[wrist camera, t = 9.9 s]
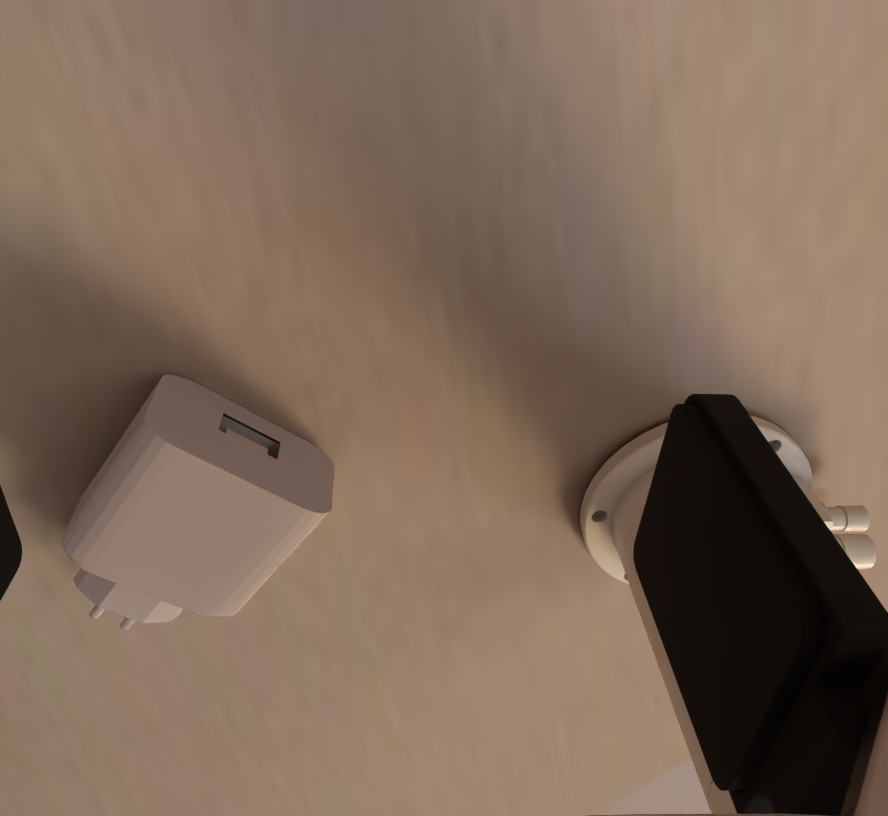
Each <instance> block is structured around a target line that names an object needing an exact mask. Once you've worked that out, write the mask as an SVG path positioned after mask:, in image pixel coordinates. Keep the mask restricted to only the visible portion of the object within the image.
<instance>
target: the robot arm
mask: <svg viewBox="0 0 888 816" xmlns="http://www.w3.org/2000/svg"><path fill="white" fill-rule="evenodd" d="M812 485H813V476H812V472H811V469H810V465H809V462H808V460H807V459H806V457H805V455H804V454H803V452H802V451H801V449H800V448H799V446H798V445H797V444H796V443H795V442H794V440H793V439H792V438H791V437H790V436H789V435H788V433H786V432H785V431H783V430H782V429H781V428H779V427H778V426H776V425H775V424H773V423H771V422H768V421H766V420H763V419H761V418H758V417H755V416H750V415H749V414H748V412H747V411H746V409H745V408H744V407H743V405H742V404H741V402H740V401H739V400H738V399H737V398H736V397H735V396H734V395H728V394H692V395H690V396H688V398H687V399H686V400H685V403H684V404H677V405H675V406H674V408H673V409H672V412H671V415H670V418H669V422H667V423H664V424H662V425H660V426H658V427H656V428H654V429H651V430H649V431H647V432H645V433H643V434H641V435H640V436H638V437H637V438H635V439H634V440H632V441H630V442H629V443H627V444H626V445H624V446H623V447H622V448H621V449H619V450H618V451H617V452H616V453H615V454H614V455H613V456H612V457H610V458H609V459H608V460H607V461H606V462H605V464H604V465H603V466H602V467H601V468H600V470H599V471H598V472H597V473H596V475H595V476H594V477H593V479H592V481H591V483H590V485H589V487H588V489H587V490H586V492H585V495H584V499H583V502H582V506H581V514H580V526H581V530H582V534H583V538H584V541H585V544H586V547H587V549H588V552H589V554H590V556H591V557H592V559H593V560H594V561H595V563H596V564H597V565H598V566H599V568H601V569H602V570H603V571H604V572H606V573H607V574H608V575H610V576H611V577H613V578H615V579H616V580H618V581H620V582H622V583H625V584H628V585H630V588H631V591H632V593H633V596H634V599H635V602H636V604H637V607H638V610H639V613H640V616H641V618H642V621H643V624H644V627H645V630H646V632H647V635H648V638H649V641H650V643H651V646H652V649H653V652H654V655H655V657H656V660H657V663H658V666H659V669H660V671H661V674H662V677H663V680H664V682H665V685H666V688H667V691H668V694H669V696H670V699H671V702H672V705H673V708H674V710H675V713H676V716H677V719H678V722H679V724H680V727H681V730H682V733H683V735H684V738H685V741H686V744H687V747H688V749H689V752H690V755H691V758H692V760H693V763H694V766H695V769H696V772H697V774H698V777H699V780H700V783H701V786H702V788H703V791H704V794H705V797H706V800H707V802H708V805H709V808H710V810H711V812H712V814H632V815H589V816H888V613H887V611H886V610H885V608H884V607H883V605H882V604H881V603H880V601H879V600H878V598H877V597H876V595H875V594H874V593H873V591H872V590H871V588H870V587H869V585H868V584H867V583H866V581H865V580H864V578H863V577H862V575H861V574H860V573H859V571H858V570H857V569H868V568H872V566H873V565H874V564H875V561H876V556H877V554H876V547H875V545H874V543H873V541H872V539H871V538H870V537H869V536H868V535H867V534H832V532H831V531H830V530H838V531H866V530H867V529H868V528H869V525H870V515H869V513H868V510H867V509H866V508H865V507H864V506H836V507H826V506H825V505H824V504H822V503H820V502H819V501H818V500H817V499H816V497H815V496H814V494H813V493H812ZM21 557H22V545H21V541H20V538H19V535H18V532H17V530H16V527H15V524H14V522H13V519H12V516H11V513H10V511H9V508H8V505H7V502H6V500H5V497H4V494H3V491H2V489H1V486H0V600H1V599H2V597H3V595H4V593H5V592H6V590H7V588H8V586H9V584H10V583H11V581H12V579H13V577H14V576H15V574H16V572H17V570H18V568H19V566H20V562H21Z"/></svg>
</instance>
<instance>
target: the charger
mask: <svg viewBox="0 0 888 816" xmlns="http://www.w3.org/2000/svg"><path fill="white" fill-rule="evenodd" d="M334 468H335V467H334V463H333V462H332V460H331V459H330V458H329V457H328V456H327V455H326V454H325V453H324V452H323V451H321V450H320V449H319V448H317V447H316V446H314V445H313V444H311V443H309V442H308V441H306V440H304V439H302V438H300V437H298V436H296V435H294V434H293V433H291V432H289V431H287V430H285V429H283V428H281V427H279V426H277V425H275V424H274V423H272V422H270V421H268V420H266V419H264V418H262V417H260V416H258V415H257V414H255V413H253V412H251V411H249V410H247V409H245V408H243V407H241V406H239V405H238V404H236V403H234V402H232V401H230V400H228V399H226V398H224V397H222V396H221V395H219V394H217V393H215V392H213V391H211V390H209V389H207V388H205V387H204V386H202V385H200V384H197V383H195V382H193V381H191V380H189V379H186V378H183V377H180V376H176V375H164V376H163V377H162V378H161V379H160V381H159V382H158V384H157V385H156V386H155V388H154V389H153V391H152V392H151V394H150V395H149V397H148V398H147V400H146V401H145V403H144V404H143V406H142V407H141V409H140V410H139V412H138V413H137V415H136V416H135V418H134V419H133V421H132V422H131V424H130V425H129V427H128V428H127V430H126V431H125V433H124V434H123V436H122V437H121V439H120V440H119V442H118V443H117V445H116V446H115V448H114V449H113V451H112V452H111V454H110V455H109V456H108V458H107V459H106V461H105V462H104V464H103V465H102V467H101V468H100V470H99V471H98V473H97V474H96V476H95V477H94V479H93V480H92V482H91V483H90V485H89V486H88V488H87V489H86V491H85V492H84V494H83V495H82V497H81V499H80V501H79V503H78V505H77V507H76V510H75V512H74V514H73V516H72V518H71V520H70V522H69V524H68V526H67V528H66V530H65V532H64V534H63V536H62V538H61V545H62V547H63V549H64V550H65V552H66V553H67V554H68V556H69V557H70V558H71V560H72V561H73V562H74V563H75V564H76V565H77V566H78V567H79V568H81V569H80V570H79V572H78V573H77V574H76V576H75V577H74V581H75V584H76V586H77V588H78V589H79V590H80V591H81V592H83V593H84V594H85V595H86V596H87V597H88V598H89V599H90V600H91V601H92V602H93V603H94V604H96V605H95V607H94V608H93V609H92V611H91V612H90V613H89V615H90V617H91V618H93V619H97V618H99V616H100V615H101V614H102V612H103V611H104V610H107V611H110V612H113V613H116V614H118V615H121V616H124V617H126V618H125V619H124V620H123V621H122V623H121V624H120V627H121V628H122V629H123V630H128V629H129V628H130V627H131V625H132V624H133V623H134V622H135V621H137V622H140V623H158V622H169V621H171V620H173V619H175V618H177V616H178V615H179V614H180V613H181V612H182V611H183V609H185V610H187V611H190V612H192V613H195V614H198V615H201V616H232V615H235V614H236V613H237V612H238V611H239V610H240V609H241V608H242V607H243V606H244V605H245V604H246V603H247V601H248V600H249V599H250V598H251V597H252V596H253V595H254V594H255V593H256V592H257V591H258V589H259V588H260V587H261V586H262V585H263V584H264V583H265V582H266V581H267V580H268V579H269V577H270V576H271V575H272V574H273V573H274V572H275V571H276V570H277V569H278V568H279V567H280V565H281V564H282V563H283V562H284V561H285V560H286V559H287V558H288V557H289V556H290V555H291V553H292V552H293V551H294V550H295V549H296V548H297V547H298V546H299V545H300V544H301V543H302V541H303V540H304V539H305V538H306V537H307V536H308V535H309V534H310V533H311V532H312V531H313V529H314V528H315V527H316V526H317V525H318V524H319V523H320V522H321V521H322V520H323V519H324V517H325V516H326V515H327V514H328V513H329V512H330V510H331V508H332V494H333V481H334Z"/></svg>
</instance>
